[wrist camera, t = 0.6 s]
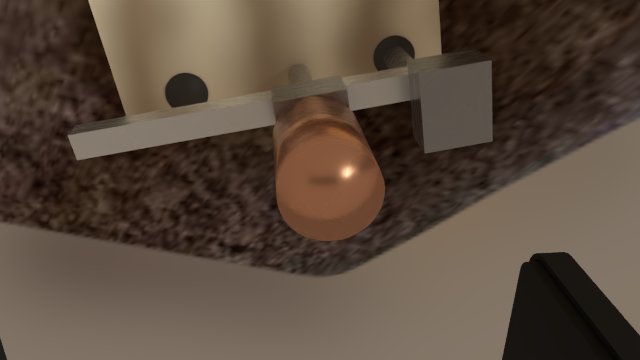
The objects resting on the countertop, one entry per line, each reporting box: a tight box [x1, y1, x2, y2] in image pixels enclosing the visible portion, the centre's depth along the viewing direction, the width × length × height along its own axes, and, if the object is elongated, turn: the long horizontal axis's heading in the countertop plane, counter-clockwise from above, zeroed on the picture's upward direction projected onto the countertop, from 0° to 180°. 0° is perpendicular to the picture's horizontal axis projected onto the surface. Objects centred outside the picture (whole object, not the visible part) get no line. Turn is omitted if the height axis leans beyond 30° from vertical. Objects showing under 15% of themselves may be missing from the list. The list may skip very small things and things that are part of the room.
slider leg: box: [271, 64, 385, 241], centre depth 27 cm, size 4×4×18 cm
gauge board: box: [88, 0, 442, 116], centre depth 34 cm, size 20×12×2 cm, turn 99°
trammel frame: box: [68, 46, 493, 160], centre depth 29 cm, size 18×4×12 cm, turn 99°
